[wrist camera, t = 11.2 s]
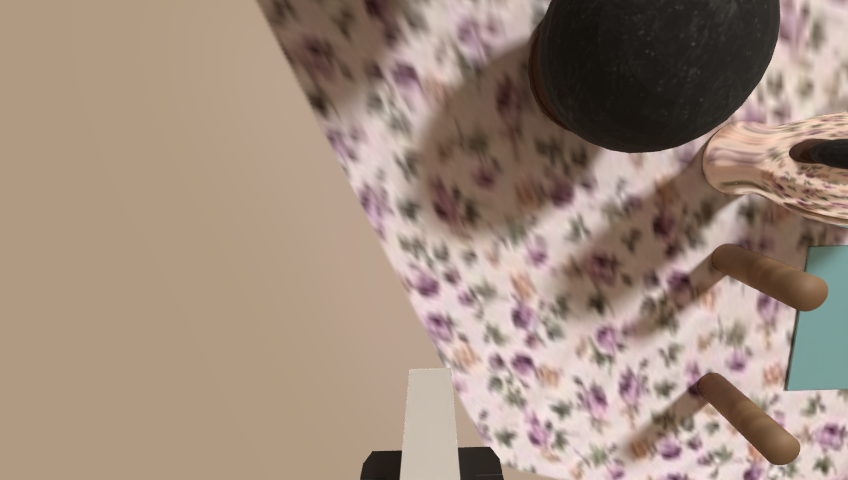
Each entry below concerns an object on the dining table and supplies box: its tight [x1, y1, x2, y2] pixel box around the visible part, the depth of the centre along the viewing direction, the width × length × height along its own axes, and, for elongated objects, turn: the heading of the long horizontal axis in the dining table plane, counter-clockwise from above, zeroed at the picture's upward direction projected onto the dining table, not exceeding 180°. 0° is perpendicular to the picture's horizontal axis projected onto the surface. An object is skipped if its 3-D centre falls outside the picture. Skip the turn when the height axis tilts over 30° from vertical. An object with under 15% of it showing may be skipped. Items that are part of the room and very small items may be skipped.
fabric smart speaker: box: [529, 0, 780, 153], centre depth 29 cm, size 13×13×15 cm
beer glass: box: [703, 112, 848, 228], centre depth 31 cm, size 7×7×15 cm
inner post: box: [712, 244, 828, 312], centre depth 36 cm, size 3×3×9 cm
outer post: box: [698, 373, 800, 465], centre depth 39 cm, size 3×3×9 cm
